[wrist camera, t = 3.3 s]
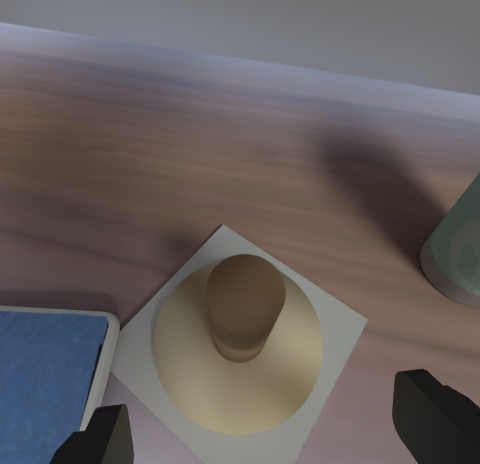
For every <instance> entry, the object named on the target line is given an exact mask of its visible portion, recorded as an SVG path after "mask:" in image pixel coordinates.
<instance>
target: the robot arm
mask: <svg viewBox="0 0 480 464" xmlns="http://www.w3.org/2000/svg"><path fill="white" fill-rule="evenodd" d="M392 417H393V422H394V426H395V429H396V431H397V433H398V435H399V437H400V438H401V440H402V441H403V443H404V444H405V446H406V447H407V448H408V450H409V451H410V453H411V454H412V455H413V457H414V458H415V460H416V461H417V462H418V464H480V408H479V407H478V406H477V405H476V404H475V403H474V402H473V401H471V400H470V399H469V398H468V397H466V396H465V395H463V394H461V393H459V392H458V391H456V390H454V389H452V388H451V387H449V386H447V385H445V386H443V385H442V384H441V383H440V382H439V381H438V380H436V379H435V378H434V377H433V376H432V375H431V374H430V373H429V372H428V371H426V370H424V369H417V370H408V371H400V372H397V373H396V375H395V383H394V397H393V410H392ZM133 460H134V450H133V442H132V436H131V429H130V422H129V416H128V410H127V406H126V405H125V404H120V405H112V406H104V407H97V408H96V409H95V410H94V412H93V414H92V416H91V418H90V421H89V423H88V425H87V427H86V429H85V431H77V432H73V433H72V434H71V435H70V436H69V437H68V438H67V440H66V441H65V442H64V443H63V444H62V445H61V446H60V447H59V448H58V449H57V450H56V451H55V453H54V455H53V457H52V459H51V461H50V463H49V464H133Z"/></svg>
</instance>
